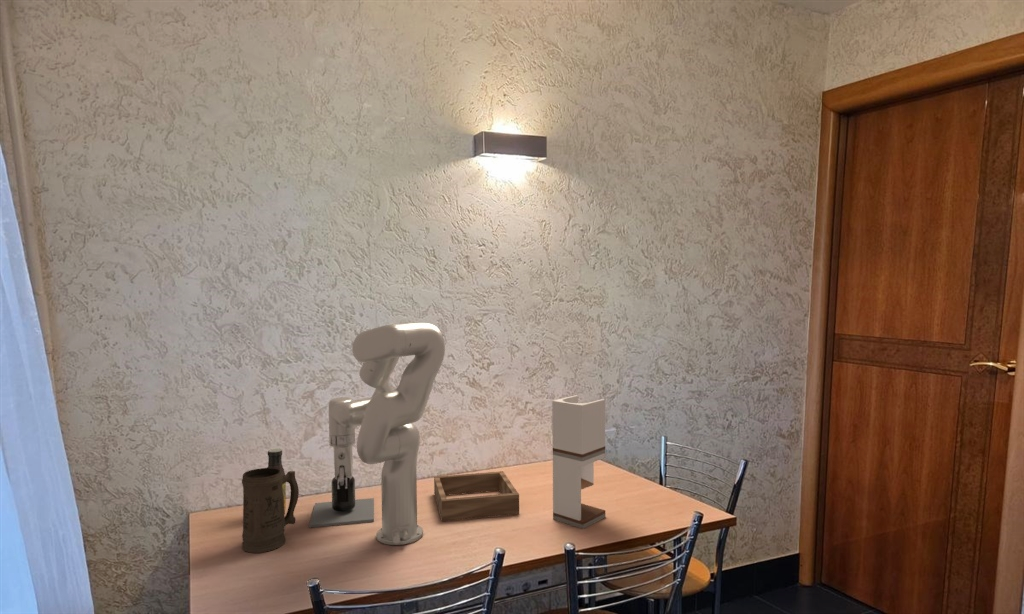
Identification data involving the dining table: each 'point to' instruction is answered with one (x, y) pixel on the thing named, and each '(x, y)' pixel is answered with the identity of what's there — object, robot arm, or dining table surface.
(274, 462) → the sauce bottle
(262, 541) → the beer stein
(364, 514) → the mat
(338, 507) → the supplement bottle
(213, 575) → the dining table surface
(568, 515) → the white notched column
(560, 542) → the dining table surface
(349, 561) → the dining table surface
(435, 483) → the crate
